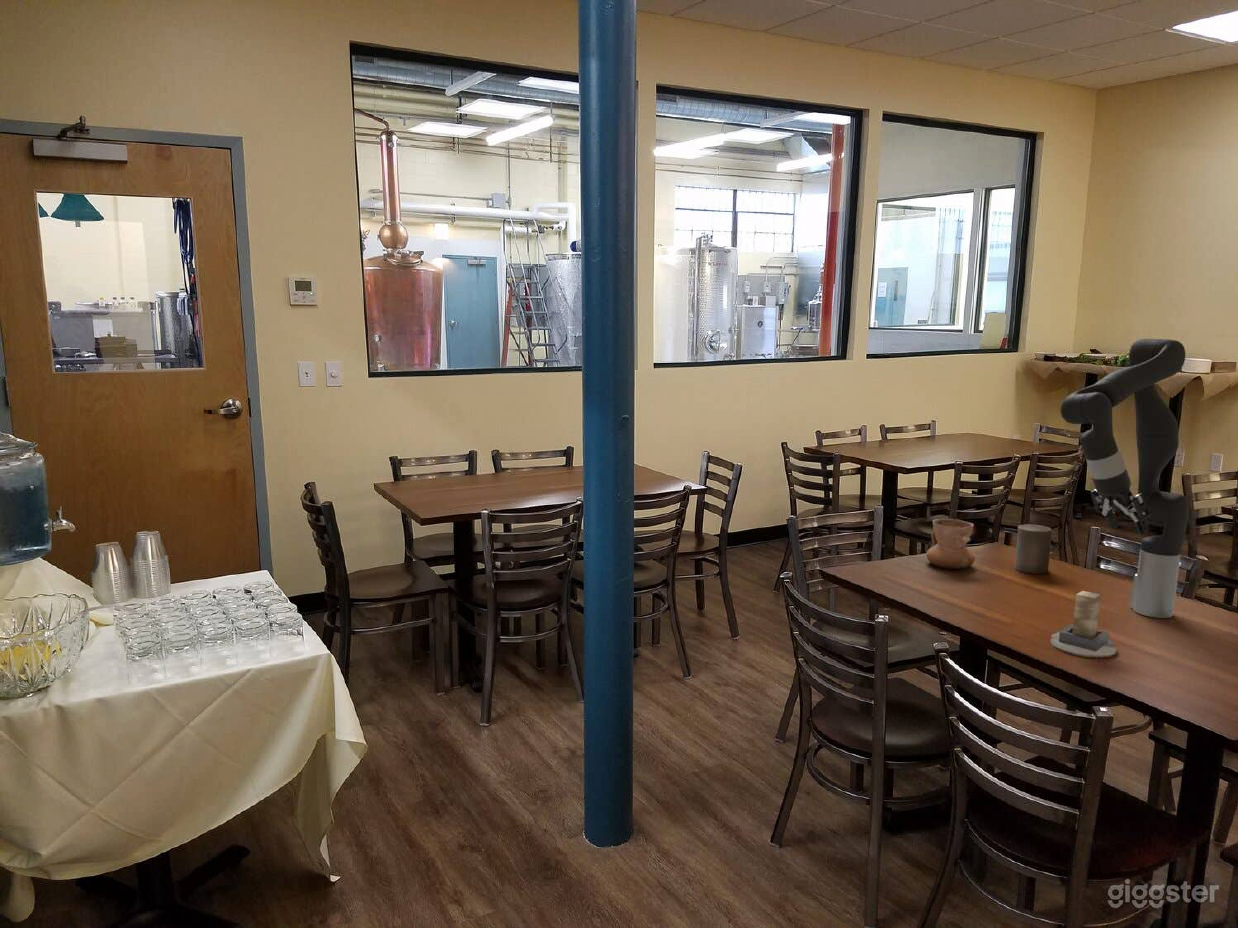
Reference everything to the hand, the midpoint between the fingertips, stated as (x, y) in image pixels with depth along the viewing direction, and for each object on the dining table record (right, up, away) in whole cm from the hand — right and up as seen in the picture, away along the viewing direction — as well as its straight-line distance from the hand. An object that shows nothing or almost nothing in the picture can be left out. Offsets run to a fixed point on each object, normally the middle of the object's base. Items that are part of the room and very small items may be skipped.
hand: (1129, 530), depth 208 cm
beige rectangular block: (-10, -27, +1) cm, 29 cm away
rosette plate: (-10, -28, +1) cm, 30 cm away
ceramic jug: (-17, -17, +68) cm, 72 cm away
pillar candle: (+7, -18, +64) cm, 67 cm away
